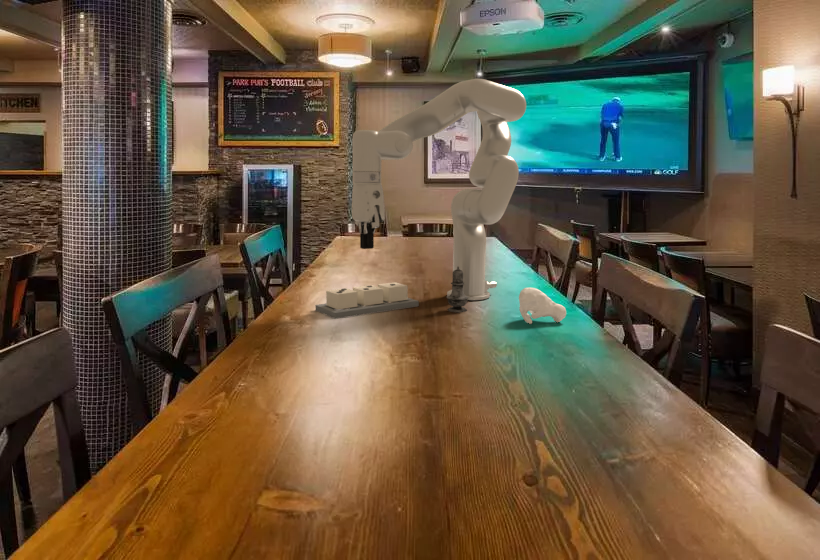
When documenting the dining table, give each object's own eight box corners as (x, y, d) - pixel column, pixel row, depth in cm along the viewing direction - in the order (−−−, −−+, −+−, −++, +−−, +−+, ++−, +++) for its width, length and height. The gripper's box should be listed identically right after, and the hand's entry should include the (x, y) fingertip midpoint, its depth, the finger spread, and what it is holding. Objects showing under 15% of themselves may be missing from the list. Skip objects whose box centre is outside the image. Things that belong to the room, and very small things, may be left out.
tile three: (346, 302, 167) (346, 287, 167) (357, 306, 163) (357, 291, 162) (326, 305, 164) (326, 289, 163) (337, 309, 159) (337, 293, 158)
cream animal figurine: (519, 284, 157) (567, 290, 156) (515, 316, 158) (562, 323, 157) (521, 289, 151) (570, 295, 149) (516, 322, 152) (565, 329, 151)
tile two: (371, 299, 172) (371, 284, 171) (383, 303, 167) (383, 287, 166) (352, 301, 169) (352, 286, 168) (364, 305, 164) (363, 290, 163)
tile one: (395, 296, 176) (395, 281, 176) (407, 299, 172) (407, 284, 171) (377, 298, 173) (377, 283, 172) (389, 302, 168) (389, 287, 167)
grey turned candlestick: (466, 313, 163) (467, 268, 161) (444, 312, 164) (445, 267, 162) (469, 308, 169) (470, 264, 167) (447, 307, 170) (448, 264, 168)
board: (315, 310, 165) (315, 304, 165) (396, 299, 180) (396, 294, 180) (335, 318, 156) (334, 312, 156) (418, 306, 171) (418, 300, 171)
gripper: (394, 179, 158) (394, 250, 161) (364, 178, 170) (364, 244, 173) (369, 179, 154) (369, 252, 157) (340, 178, 166) (341, 246, 169)
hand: (366, 248), depth 165 cm, fingers closed
